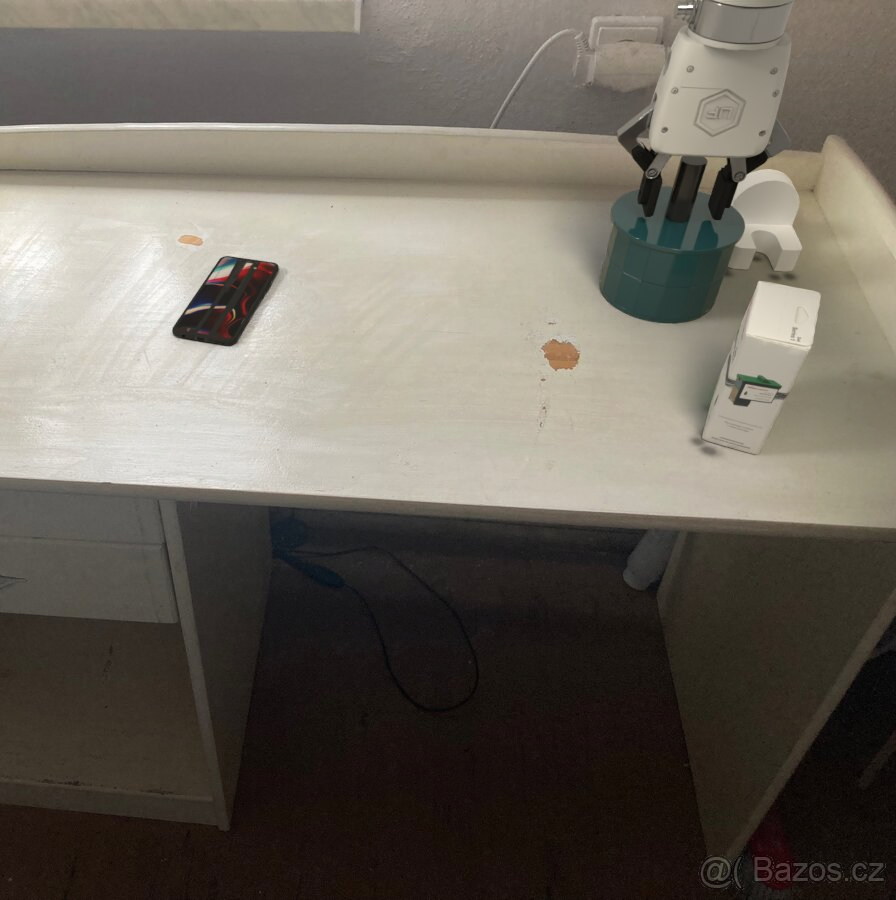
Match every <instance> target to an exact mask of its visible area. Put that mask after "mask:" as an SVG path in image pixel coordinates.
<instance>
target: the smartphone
mask: <svg viewBox="0 0 896 900" xmlns="http://www.w3.org/2000/svg"><path fill="white" fill-rule="evenodd" d="M279 267H280V266H279V264H278V263H276V262H273V261H265V260H258V259H252V258H246V257H237V256H232V255H225V256H221V257H220V258H219V259H218V260H217V262H216V264H215V265H214V266H213V268H212V269H211V271H210V272H209V274H208V275H207V277H206V278H205V280H204V281H203V283H202V284H201V285H200V287H199V288H198V290H197V291H196V293H195V294H194V296H193V297H192V299H191V300H190V302H189V303H188V304H187V306H186V307H185V309H184V310H183V312H182V313H181V315H180V316H179V317H178V319H177V321H176V322H175V323H174V324H173V327H172V329H171V332H172V335H173V336H174V337H177V338H181V339H187V340H193V341H199V342H206V343H210V344H211V343H212V344H216V345H222V346H223V345H224V346H232V345H234V344H236V343H237V342H238V340H239V339H240V337H241V335H242V334H243V332H244V330H245V329H246V327H247V325H248V324H249V322H250V320H251V319H252V317H253V315H254V313H255V312H256V310H257V309H258V306H259V305H260V303H261V302H262V300H263V299H264V297H265V295H266V293H268V291H269V290H270V287H271V285H272V282H273V281H274V279H275V278H276V276H277V274H278V273H279V271H280V268H279Z"/></svg>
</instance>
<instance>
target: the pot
mask: <svg viewBox="0 0 896 900" xmlns="http://www.w3.org/2000/svg"><path fill="white" fill-rule="evenodd" d="M735 245H736V244H735ZM735 245H734V246H732V247H730V248H728V249H726V250H723V251H720V252H715V253H710V254H701V255H684V254H674V253H667V252H662V251H658V250H654V249H651V248H648V247H645V246H643V245H640V244H638V243H636V242H634V241H632V240H630V239H628V238H627V237H625V236H624V235H623V234H621V233H620V232H619V231H618V230H617V229H616V228H615V226H614V225H613V224H612V228H611V231H610V234H609V240H608V244H607V246H606V251H605V256H604V260H603V264H602V268H601V273H600V276H599V289H600V292H601V294H602V296H603V297H604V298H605V300H606V301H607V302H608V303H609V304H610V305H611V306H613V308H615V309H617V310H619V312H622V313H624V314H626V315H628V316H631V317H634V318H636V319H640V320H644V321H647V322H654V323H663V324H676V323H685V322H691V321H694V320H697V319H700V318H702V317H703V316H705V315H707V314H708V313H709V312H710V311H711V310H712V308H713V307H714V305H715V302H716V299H717V297H718V295H719V291H720V288H721V286H722V283H723V281H724V278H725V275H726V272H727V269H728V268H729V267H728V264H729V261H730V258H731V256H732V253H733V250H734V247H735Z"/></svg>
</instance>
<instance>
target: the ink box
mask: <svg viewBox="0 0 896 900" xmlns="http://www.w3.org/2000/svg"><path fill="white" fill-rule="evenodd" d="M821 299H822V294H821V293H820V292H818V291H816V290H812V289H807V288H800V287H795V286H790V285H784V284H780V283H776V282H771V281H764V280H758V281H757V284H756V287H755V290H754V291H753V294H752V297H751V299H750V300H749V301H750V302H749V304H748V306H747V309H746V311H745V313H744V315H743V318H742V321H741V323H740V325H739V328H738V330H737V331H736V335H735V337H734V340H733V342H732V345H731V347H730V349H729V352H728V354H727V356H726V359H725V361H724V364H723V365H722V369H721V371H720V373H719V376H718V378H717V380H716V383H715V385H714V390H713V392H712V397H711V401H710V403H709V404H710V405H709V409H708V413H707V415H706V420H705V422H704V423H705V424H704V427H703V432H702V436H701V438H702V440H703V441H706V442H710V443H713V444H716V445H720V446H723V447H727V448H730V449H733V450H737V451H741V452H744V453H748V454H752V455H759V454H760V453H761V451H762V449H763V447H764V445H765V443H766V442H767V439H768V437H769V435H770V433H771V431H772V430H773V427H774V426H775V425H774V424H775V423H776V421H777V419H778V416H779V415H780V412H781V411H782V408H783V406H784V405H785V403H786V400H787V398H788V396H789V393H790V392H791V389H792V388H793V386H794V383H795V382H796V378H797V377H798V375H799V374H800V371H801V369H802V367H803V366H804V363H805V361H806V359H807V357H808V355H809V353H810V352H811V350H812V347H813V344H814V337H815V335H816V325H817V322H818V314H819V309H820V305H821Z"/></svg>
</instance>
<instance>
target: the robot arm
mask: <svg viewBox="0 0 896 900" xmlns="http://www.w3.org/2000/svg"><path fill="white" fill-rule="evenodd" d="M794 3H795V0H685V1H684V0H678V1H676V2H675V5H674V9H673V19H682V21H686V24H687V25H682V26H681V27H680V28H679V30H678V32H677V34H676V35H675V38H674V40H673V43H672V44H671V47H670V49H669V52H668V54H667V56H666V59H665V62H664V64H663V67H662V68H661V69H662V70H661V72H660V74H659V77H658V79H657V83H656V86H655V89H654V92H653V94H652V98H651V101H650V104H648V106H646V107H644V109H642V110H641V111H640V112H639V113H638V114H636V115H635V116H634V117H632V118H631V119H630V120H628V121H627V122H626V123H625V124H623V126H621V127H620V128H619V129H618V130H617V131H616V139H617V141H618V143H619V144H620V145H621V146H622V147H623V148H624V150H625V151H626V152H627V153H628V154H629V155H630V156H631V157H632V159H633V161H634V162H635V163H636V164H637V166H639V168H640V169H641V170H642V172H643V174H642V177H641V181H640V185H639V188H638V189H639V193H638V199H637V201H638V204H642V207H643V211H644V215H645V217H651V216H653V214H654V211H655V207H656V204H657V200H658V197H659V193H660V189H661V187H663V177H662V171H663V169H664V168H665V166H666V165H667V163H668V162H669V160H670V158H671V157H672V156H673V157H682V156H692V157H705V158H724V159H726V164H725V165H724V167H721V168H720V169H719V170H718V171H717V175H716V177H715V180H714V184H713V187H712V190H711V193H710V195H711V196H710V199H709V202H708V207H709V210H710V213H711V216H712V218H713V219H714V220H721V218H722V215H723V212H724V210H725V208H730V206H731V203H732V200H733V197H734V195H735V192H736V189H737V186H738V183H739V182H741V181H743V180H744V179H745V178H746V175H747V174H749V173H751V172H754V171H756V170H757V169H758V168H759V167H761V166H763V165H764V164H766V163H767V161H768V160H769V159H770V158H771V159H772V158H774V157H775V156H777V155H778V154H780V153H782V152H784V151H785V150H787V149H788V148H790V147H791V145H792V140H791V138H790V137H789V134H788V133H787V131H786V129H785V128H784V126H783V125H782V123H781V121H780V120H779V118H778V112H779V109H780V104H781V101H782V96H783V91H784V87H785V83H786V78H787V75H788V70H789V69H788V68H789V64H790V59H791V52H792V43H793V40H792V38H791V37H790V36H789V35H788V33H787V32H785V29H786V27H787V24H788V22H789V18H790V15H791V12H792V9H793V6H794ZM645 131H646V132H647V133H648V143H649V146H650V147H649V148H647V147H646V145H645V144H644V143H643V142H642V141H641V140H640V139H639V138H638V137H639V136H640V135H641V134H642V133H644V132H645Z"/></svg>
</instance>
